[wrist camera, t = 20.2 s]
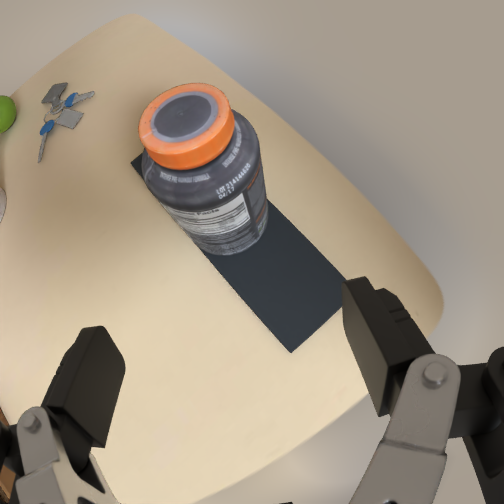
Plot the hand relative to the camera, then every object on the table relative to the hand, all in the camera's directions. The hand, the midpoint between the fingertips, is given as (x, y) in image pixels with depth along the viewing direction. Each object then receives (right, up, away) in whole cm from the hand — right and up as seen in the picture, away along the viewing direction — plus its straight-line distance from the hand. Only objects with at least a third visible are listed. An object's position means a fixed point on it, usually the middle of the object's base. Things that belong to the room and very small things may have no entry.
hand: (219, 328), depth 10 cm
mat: (-1, +5, +13) cm, 14 cm away
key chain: (-21, +19, +19) cm, 34 cm away
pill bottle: (-1, +5, +13) cm, 14 cm away
